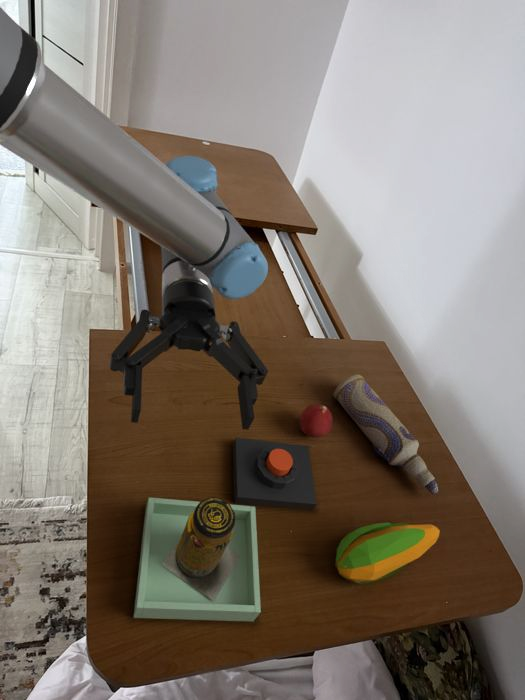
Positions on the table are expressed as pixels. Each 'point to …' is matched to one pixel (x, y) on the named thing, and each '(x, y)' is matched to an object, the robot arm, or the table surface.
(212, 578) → the condiment
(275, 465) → the button
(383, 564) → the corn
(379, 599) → the table surface
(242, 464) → the button base
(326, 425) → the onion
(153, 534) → the mint green tray
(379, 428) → the decorative bottle
